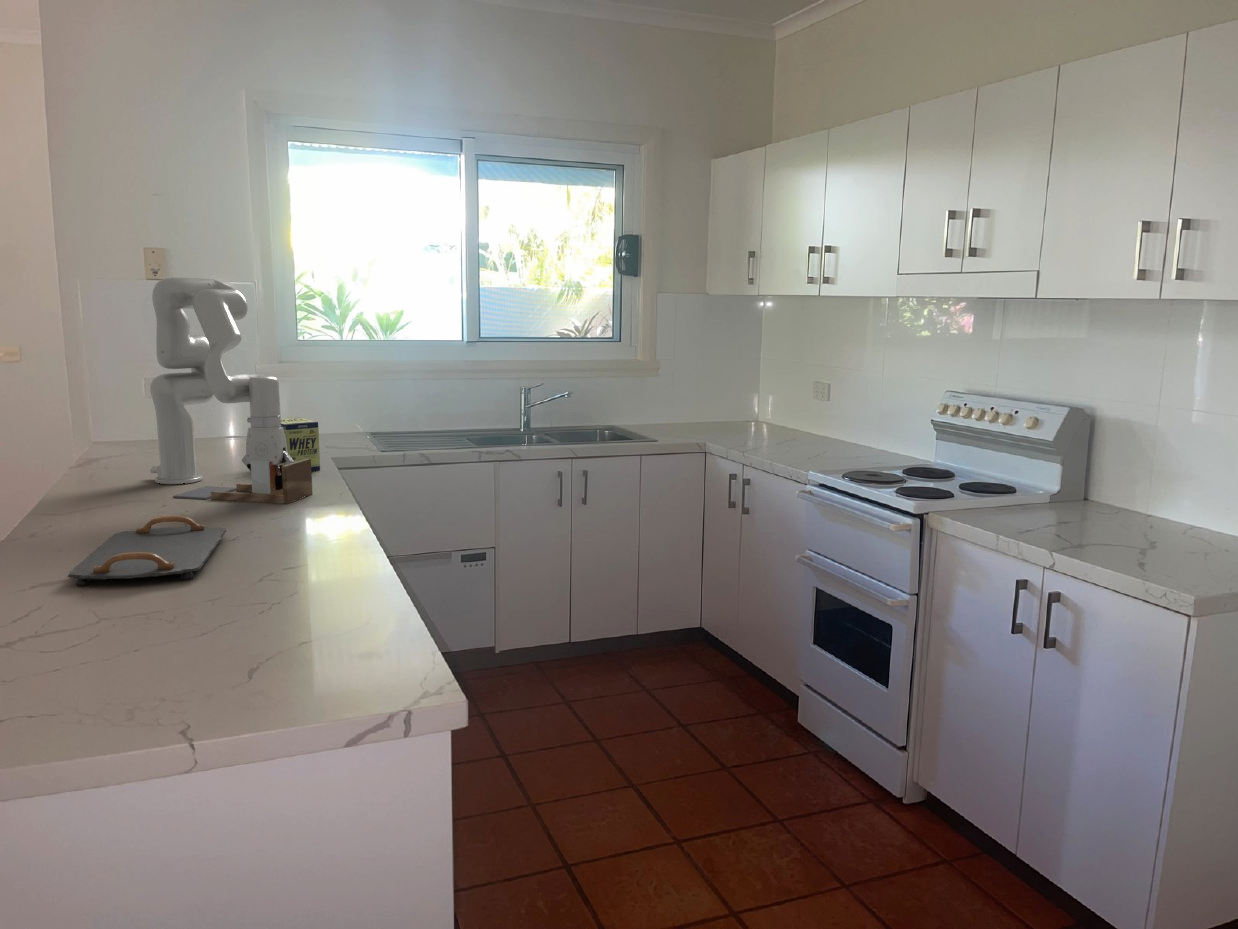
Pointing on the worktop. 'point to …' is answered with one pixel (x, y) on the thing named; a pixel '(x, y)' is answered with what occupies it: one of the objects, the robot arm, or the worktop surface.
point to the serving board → (151, 552)
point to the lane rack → (294, 486)
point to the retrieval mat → (203, 492)
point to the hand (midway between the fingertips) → (269, 488)
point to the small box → (264, 478)
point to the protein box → (302, 440)
